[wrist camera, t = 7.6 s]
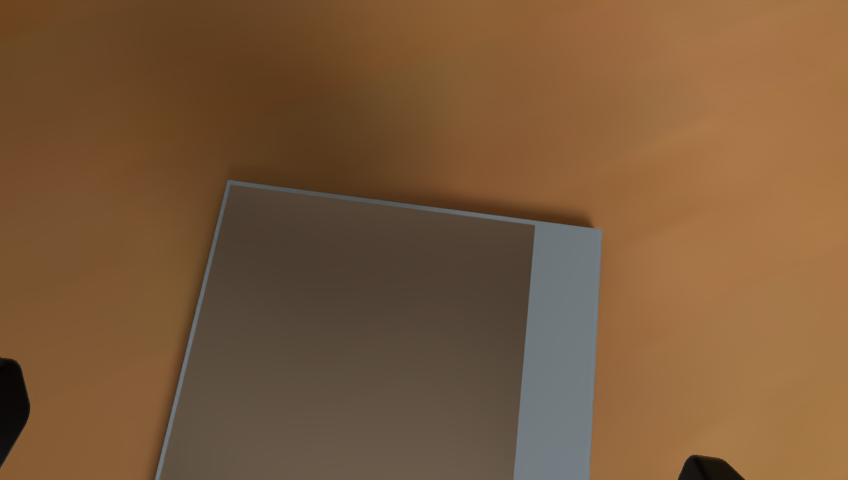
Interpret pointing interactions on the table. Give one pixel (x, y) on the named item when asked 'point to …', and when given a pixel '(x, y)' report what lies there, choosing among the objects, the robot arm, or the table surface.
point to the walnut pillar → (354, 345)
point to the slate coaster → (527, 344)
